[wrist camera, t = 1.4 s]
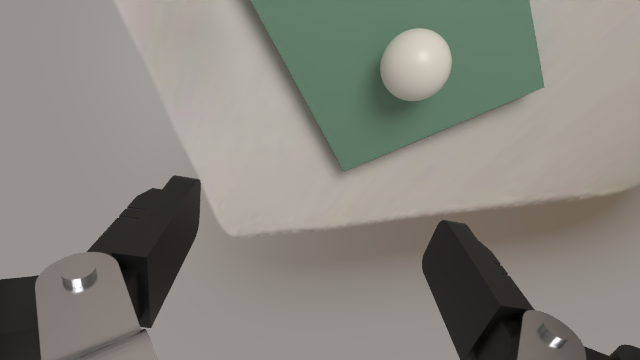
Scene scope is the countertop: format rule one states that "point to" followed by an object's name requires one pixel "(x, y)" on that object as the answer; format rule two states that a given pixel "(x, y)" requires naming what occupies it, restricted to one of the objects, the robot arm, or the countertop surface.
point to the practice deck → (365, 57)
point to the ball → (416, 64)
